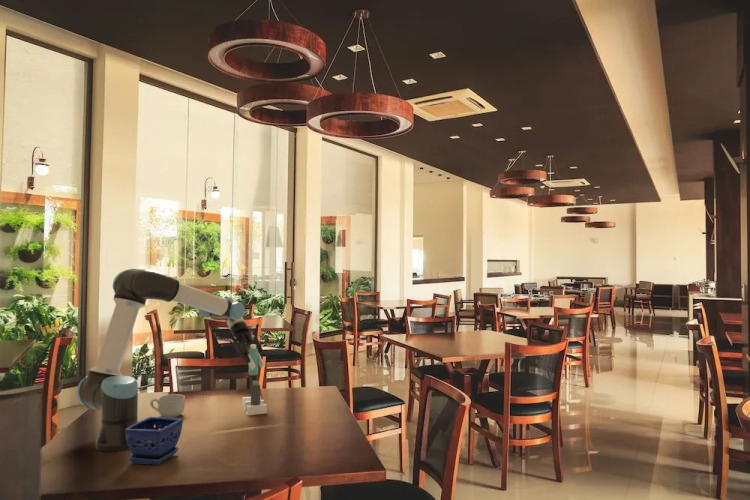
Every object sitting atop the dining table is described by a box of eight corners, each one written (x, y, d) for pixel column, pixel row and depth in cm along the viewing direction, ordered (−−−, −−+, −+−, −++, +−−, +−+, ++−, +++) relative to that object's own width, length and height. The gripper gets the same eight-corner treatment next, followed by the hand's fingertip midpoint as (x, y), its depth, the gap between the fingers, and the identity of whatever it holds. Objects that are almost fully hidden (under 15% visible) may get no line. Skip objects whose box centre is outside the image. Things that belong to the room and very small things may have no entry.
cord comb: (266, 415, 220) (266, 404, 220) (247, 417, 217) (247, 406, 217) (260, 405, 235) (260, 395, 235) (242, 407, 232) (242, 397, 232)
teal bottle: (258, 374, 229) (258, 345, 229) (249, 375, 228) (249, 345, 228) (257, 373, 233) (257, 343, 233) (248, 373, 231) (248, 344, 232)
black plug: (261, 412, 222) (261, 381, 222) (251, 413, 220) (251, 382, 220) (259, 409, 225) (259, 379, 226) (250, 410, 224) (250, 380, 224)
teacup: (189, 412, 225) (189, 394, 225) (177, 420, 214) (177, 400, 214) (158, 412, 226) (158, 393, 227) (145, 419, 216) (145, 400, 216)
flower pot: (160, 468, 164) (160, 430, 164) (123, 465, 166) (123, 428, 166) (183, 453, 177) (184, 418, 177) (149, 450, 179) (149, 416, 179)
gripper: (250, 329, 247) (270, 369, 236) (218, 333, 235) (237, 375, 223) (256, 319, 244) (277, 359, 232) (224, 322, 231) (244, 364, 220)
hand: (258, 367), depth 228 cm, fingers closed on teal bottle, 4 cm apart
